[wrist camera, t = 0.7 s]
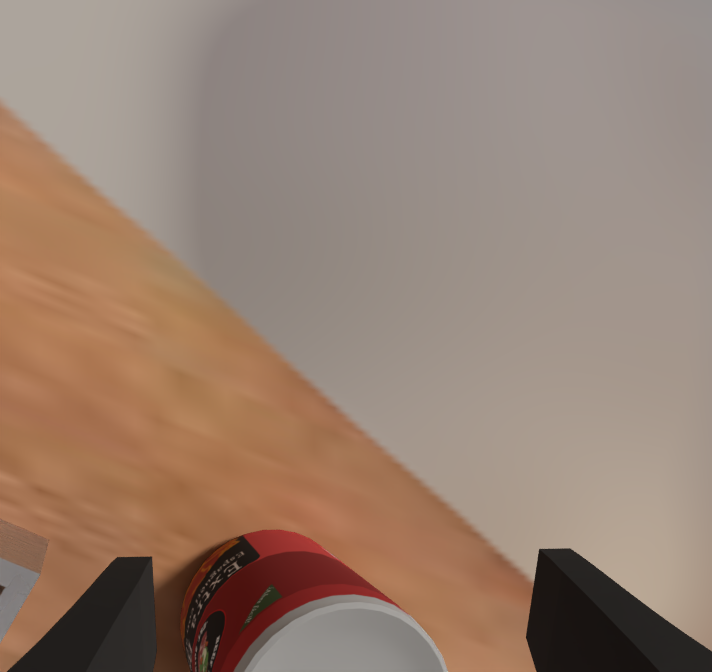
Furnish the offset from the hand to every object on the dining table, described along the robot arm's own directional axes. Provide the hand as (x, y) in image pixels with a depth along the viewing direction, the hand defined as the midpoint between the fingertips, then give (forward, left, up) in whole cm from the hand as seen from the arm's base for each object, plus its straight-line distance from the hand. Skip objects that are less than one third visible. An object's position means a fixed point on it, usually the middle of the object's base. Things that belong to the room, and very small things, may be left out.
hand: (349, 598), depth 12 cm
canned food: (-2, -8, -20) cm, 21 cm away
